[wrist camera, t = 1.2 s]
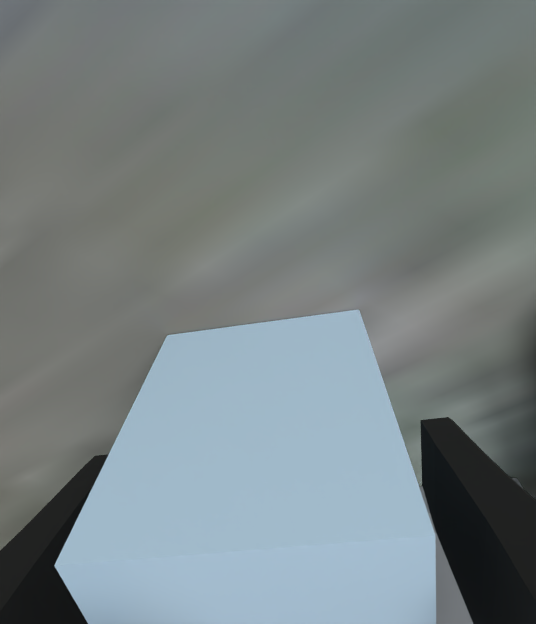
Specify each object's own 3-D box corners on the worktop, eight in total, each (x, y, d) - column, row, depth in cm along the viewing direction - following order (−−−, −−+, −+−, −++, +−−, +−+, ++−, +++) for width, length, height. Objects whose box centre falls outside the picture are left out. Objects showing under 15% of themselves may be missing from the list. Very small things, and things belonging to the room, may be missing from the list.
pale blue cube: (358, 309, 12) (434, 534, 6) (372, 458, 14) (437, 731, 8) (167, 335, 12) (54, 566, 6) (209, 474, 14) (156, 741, 8)
